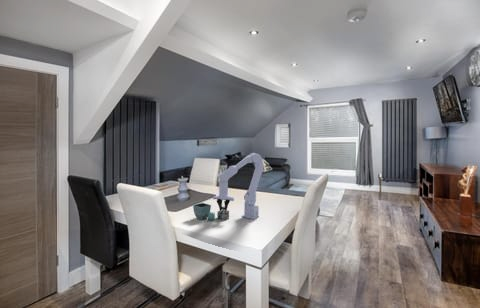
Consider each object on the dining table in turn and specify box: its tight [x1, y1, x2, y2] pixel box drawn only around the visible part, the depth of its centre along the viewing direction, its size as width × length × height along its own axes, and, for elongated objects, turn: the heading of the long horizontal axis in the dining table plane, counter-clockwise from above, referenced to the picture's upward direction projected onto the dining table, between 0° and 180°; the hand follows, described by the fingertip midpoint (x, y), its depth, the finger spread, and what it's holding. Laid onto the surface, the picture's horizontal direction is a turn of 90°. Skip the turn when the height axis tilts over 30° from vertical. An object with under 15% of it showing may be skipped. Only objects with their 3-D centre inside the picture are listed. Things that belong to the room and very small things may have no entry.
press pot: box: [216, 210, 230, 221], centre depth 161 cm, size 8×9×4 cm
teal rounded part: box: [207, 211, 216, 222], centre depth 157 cm, size 5×5×4 cm
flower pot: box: [192, 202, 212, 220], centre depth 160 cm, size 9×9×9 cm
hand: (223, 210), depth 160 cm, fingers closed on plunger, 3 cm apart
